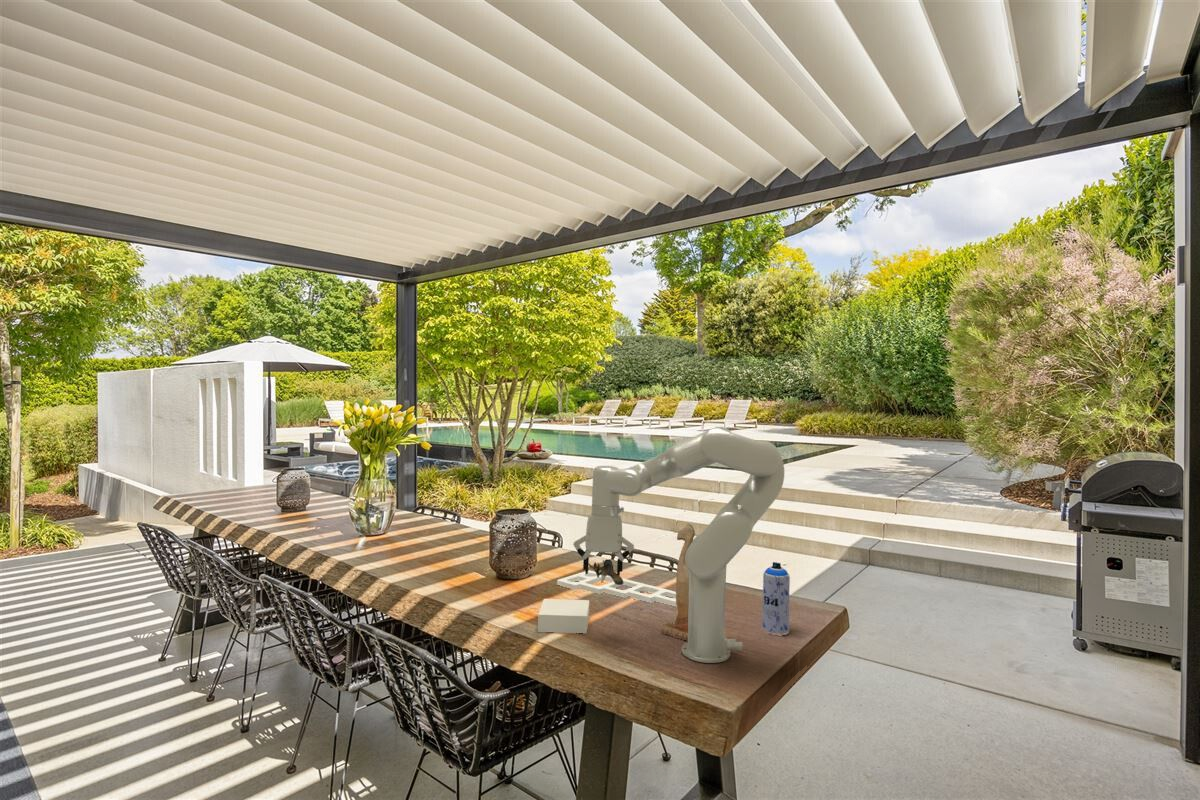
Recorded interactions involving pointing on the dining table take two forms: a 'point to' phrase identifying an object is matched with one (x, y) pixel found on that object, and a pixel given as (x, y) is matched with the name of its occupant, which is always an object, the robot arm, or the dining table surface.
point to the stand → (563, 616)
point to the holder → (610, 588)
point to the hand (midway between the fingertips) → (602, 573)
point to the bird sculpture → (681, 589)
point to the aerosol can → (776, 599)
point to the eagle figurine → (607, 571)
